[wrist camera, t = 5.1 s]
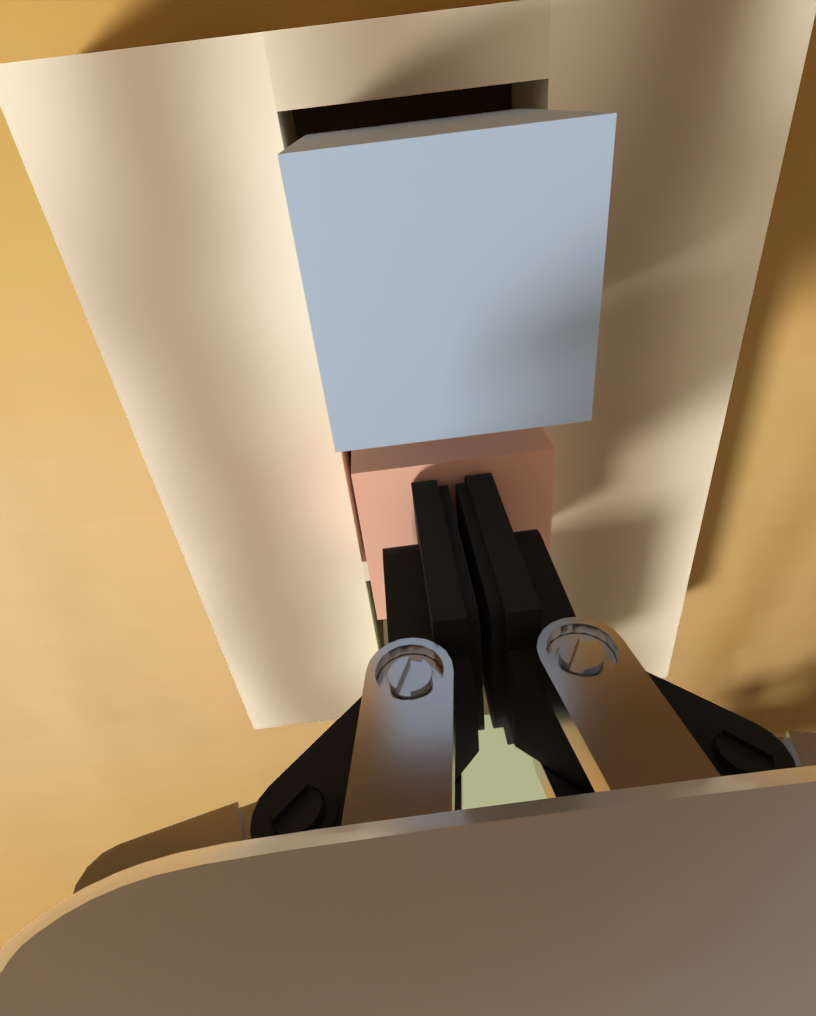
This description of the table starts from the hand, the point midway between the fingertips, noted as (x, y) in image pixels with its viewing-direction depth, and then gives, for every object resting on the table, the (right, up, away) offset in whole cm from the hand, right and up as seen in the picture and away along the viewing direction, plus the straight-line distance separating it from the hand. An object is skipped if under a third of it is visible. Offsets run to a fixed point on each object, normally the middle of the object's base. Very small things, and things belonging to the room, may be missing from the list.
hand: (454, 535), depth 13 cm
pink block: (0, +3, +4) cm, 5 cm away
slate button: (-1, +6, 0) cm, 6 cm away
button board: (0, +3, +5) cm, 6 cm away
